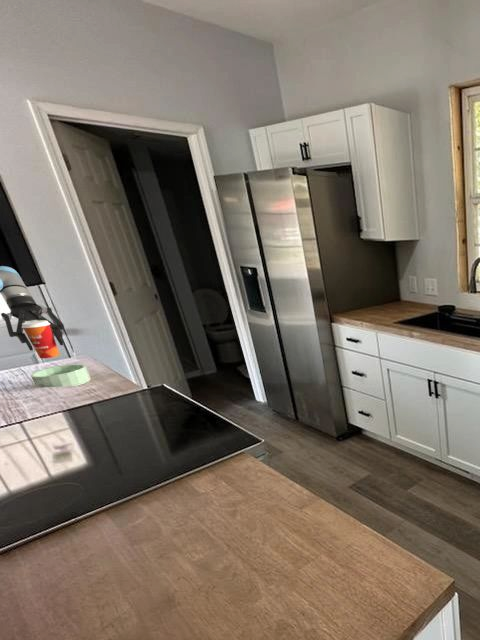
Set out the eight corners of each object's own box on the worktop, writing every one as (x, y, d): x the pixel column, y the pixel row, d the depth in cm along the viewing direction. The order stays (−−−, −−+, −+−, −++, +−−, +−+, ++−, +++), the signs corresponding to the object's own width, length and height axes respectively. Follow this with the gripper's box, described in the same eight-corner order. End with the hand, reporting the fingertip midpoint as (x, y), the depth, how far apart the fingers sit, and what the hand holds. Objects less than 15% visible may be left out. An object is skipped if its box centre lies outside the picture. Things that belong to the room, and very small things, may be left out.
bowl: (34, 385, 155) (28, 371, 153) (86, 374, 166) (81, 361, 164) (40, 394, 147) (33, 379, 145) (94, 382, 158) (88, 368, 156)
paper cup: (30, 358, 163) (14, 323, 158) (54, 352, 170) (40, 319, 164) (44, 359, 161) (29, 325, 156) (68, 354, 168) (54, 320, 163)
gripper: (57, 302, 174) (82, 345, 172) (-18, 311, 159) (9, 357, 156) (55, 291, 170) (81, 334, 167) (-23, 298, 154) (5, 346, 151)
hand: (46, 345), depth 162 cm, fingers closed on paper cup, 8 cm apart
